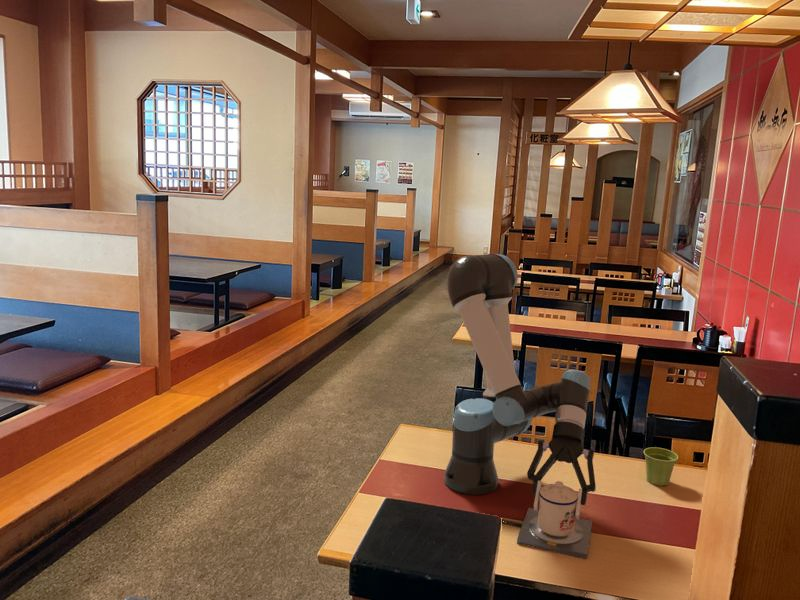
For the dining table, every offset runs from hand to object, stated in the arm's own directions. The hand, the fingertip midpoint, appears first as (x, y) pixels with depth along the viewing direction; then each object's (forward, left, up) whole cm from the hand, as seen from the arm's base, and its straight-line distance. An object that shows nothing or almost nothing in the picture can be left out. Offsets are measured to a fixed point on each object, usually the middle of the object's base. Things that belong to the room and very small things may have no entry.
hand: (556, 512), depth 152 cm
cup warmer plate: (-3, +3, -7) cm, 9 cm away
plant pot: (+24, +45, -7) cm, 52 cm away
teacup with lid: (+1, +3, -5) cm, 6 cm away
